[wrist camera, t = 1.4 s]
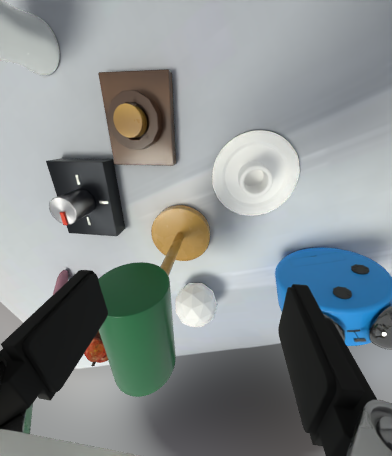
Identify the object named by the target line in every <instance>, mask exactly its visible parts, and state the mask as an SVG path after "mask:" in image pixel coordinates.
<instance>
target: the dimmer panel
mask: <svg viewBox="0 0 392 456" xmlns="http://www.w3.org/2000/svg"><path fill="white" fill-rule="evenodd" d="M46 162H47V166H48V169H49V172H50V175H51V178H52V181H53V184H54V187H55V191H56V194H57V197H58V196H61V195H63V194H66V193H69V192H71V191H74V190H76V189H83V190H86V191H88V192H89V193H90V194H91V195H92V196H93V198H94V200H95V204H96V205H95V209H94V211H92V212H91V213H89V214H88V215H86V216H84V217H83V218H81V219H79V220H77V221H76V222H74V223H72V224H68V225H67V228H68V231H69V233H78V234H93V235H108V236H118V235H119V234H120V233H121V232H122V231H123V230H124V229H125V224H124V219H123V213H122V207H121V202H120V196H119V190H118V185H117V179H116V173H115V168H114V162H113V159H56V160H50V161H46Z"/></svg>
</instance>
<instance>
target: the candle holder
mask: <svg viewBox="0 0 392 456" xmlns="http://www.w3.org/2000/svg"><path fill="white" fill-rule="evenodd" d="M299 173H300V167H299V159H298V155H297V153H296V151H295V150H294V148H293V147H292V145H291V144H290V143H289V142H288V141H287V140H286V139H285V138H283V137H282V136H280V135H278V134H276V133H273V132H270V131H264V130H256V131H250V132H246V133H243V134H241V135H239V136H237V137H235V138H234V139H232V140H231V141H230V142H228V143H227V144H226V145H225V146H224V147H223V149H222V150H221V151H220V153H219V154H218V156H217V158H216V160H215V163H214V166H213V171H212V184H213V188H214V191H215V194H216V196H217V198H218V199H219V201H220V202H221V203H222V204H223V205H224V206H225V207H226V208H228V209H229V210H231V211H233V212H235V213H237V214H240V215H246V216H257V215H262V214H266V213H268V212H271V211H273V210H275V209H276V208H278V207H279V206H281V205H282V204H283V203H284V202H285V201H286V200H287V199H288V198H289V196H290V195H291V194H292V192H293V190H294V188H295V186H296V184H297V181H298V177H299Z"/></svg>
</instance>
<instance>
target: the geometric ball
mask: <svg viewBox="0 0 392 456" xmlns="http://www.w3.org/2000/svg"><path fill="white" fill-rule="evenodd" d="M175 307H176V313H177V315H178V317H179V318H180V320H181V321H182V323H183V324H185V325H188V326H191V327H203V326H205V325H206V324H207V323H209V322H210V321H211V320H212V319H214V316H215V312H216V309H217V302H216V299H215V296H214V293H213V291H212V290H211V289H210V288H208V287H207V286H205V285H204V284H203V283H189V284H188V285H186V286H185V287H184V288H183V289H181V290H180V291H179V293H178V295H177V297H176V301H175Z"/></svg>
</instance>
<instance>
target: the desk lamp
mask: <svg viewBox="0 0 392 456" xmlns="http://www.w3.org/2000/svg"><path fill="white" fill-rule="evenodd" d="M151 232H152V239H153V242H154V244H155V245H156V247H157V248H158V249H159V251H160V252H162V253H163V254H164V255H166V257H165V259H164V261H163V263H162V265H161V267H159V266H157V265H154V264H150V263H131V264H126V265H122V266H119V267H117V268H114V269H112V270H110V271H109V272H107V273H106V274H104V275H103V276H102V277H100V278H99V279H98V281H99V284H100V287H101V290H102V294H103V297H104V300H105V303H106V307H107V310H108V316H107V318H106V320H105V321H104V323H103V325H102V326H101V328H100V329H99V333H100V336H101V339H102V342H103V345H104V348H105V351H106V354H107V357H108V360H109V363H110V366H111V369H112V373H113V376H114V379H115V382H116V384H117V386H118V387H119V389H120V390H121V391H123V392H124V393H125V394H128V395H130V396H136V397H137V396H138V397H139V396H146V395H149V394H151V393H153V392H155V391H157V390H158V389H159V388H161V387H162V386H163V385H164V384H165V383H166V382H167V380H168V379H169V377H170V376H171V374H172V371H173V369H174V365H175V345H174V332H173V319H172V306H171V293H170V281H169V277H168V276H169V274H170V271H171V269H172V266H173V264H174V261H175V260H179V261H188V260H193V259H195V258H197V257H199V256H201V255H202V254H203V253H204V252H205V250H206V249H207V247H208V245H209V240H210V227H209V224H208V222H207V220H206V219H205V217H204V216H203V215H202V214H201V213H200V212H198V211H197V210H195V209H193V208H191V207H188V206H184V205H175V206H171V207H168V208H166V209H165V210H163V211H162V212H161V213H160V214H159V215H158V216H157V218H156V219H155V220H154V222H153V225H152V230H151Z"/></svg>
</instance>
